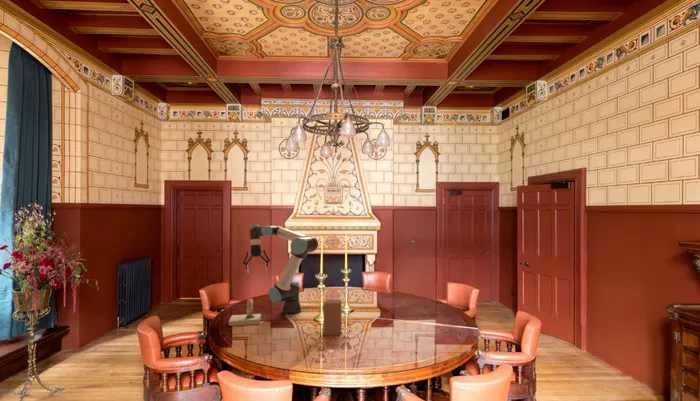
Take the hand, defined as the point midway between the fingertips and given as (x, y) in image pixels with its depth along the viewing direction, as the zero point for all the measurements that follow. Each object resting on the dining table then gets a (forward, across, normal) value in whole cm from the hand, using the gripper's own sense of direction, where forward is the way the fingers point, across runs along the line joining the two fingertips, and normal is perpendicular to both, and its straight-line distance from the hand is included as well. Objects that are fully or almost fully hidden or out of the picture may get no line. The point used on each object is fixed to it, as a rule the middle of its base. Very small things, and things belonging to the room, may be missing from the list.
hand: (257, 272), depth 272 cm
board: (+32, +10, +21) cm, 39 cm away
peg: (+32, +7, +21) cm, 39 cm away
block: (+40, -45, +59) cm, 84 cm away
